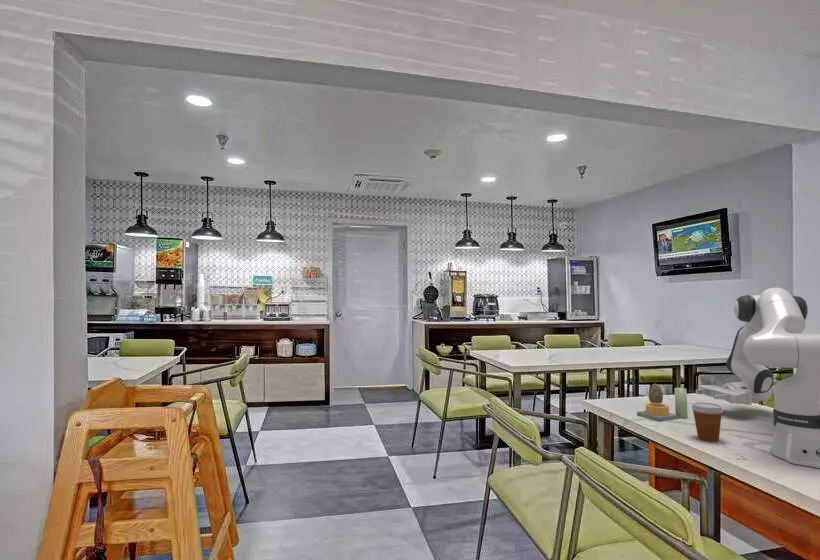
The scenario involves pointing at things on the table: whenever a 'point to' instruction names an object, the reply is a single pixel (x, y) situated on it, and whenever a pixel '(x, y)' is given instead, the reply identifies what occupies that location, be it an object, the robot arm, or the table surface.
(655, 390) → the decorative egg
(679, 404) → the pale green cylinder
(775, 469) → the table surface
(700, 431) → the disposable coffee cup
